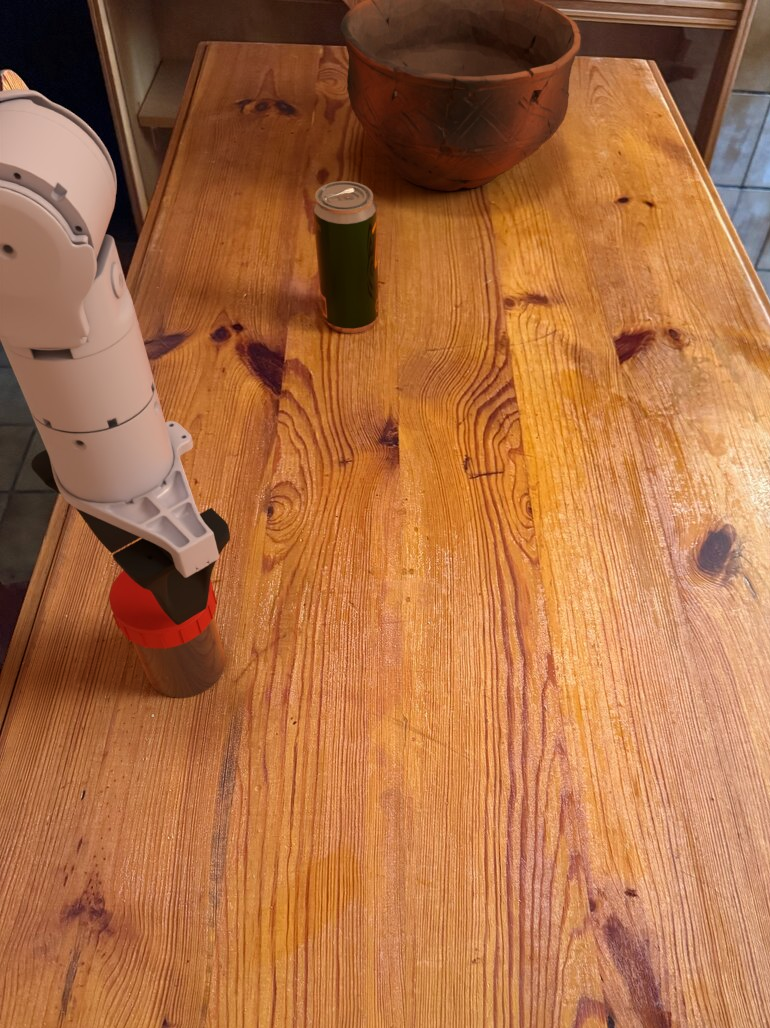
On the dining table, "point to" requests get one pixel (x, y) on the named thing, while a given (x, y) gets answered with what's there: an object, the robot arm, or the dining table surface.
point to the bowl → (458, 83)
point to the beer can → (347, 255)
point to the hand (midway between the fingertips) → (155, 576)
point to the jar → (185, 664)
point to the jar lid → (153, 616)
